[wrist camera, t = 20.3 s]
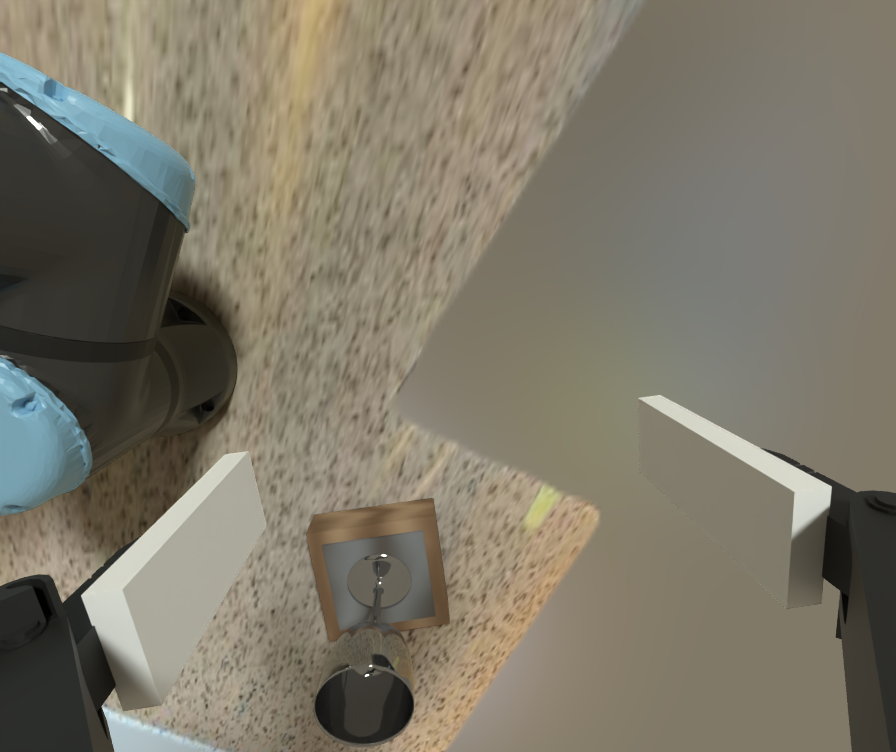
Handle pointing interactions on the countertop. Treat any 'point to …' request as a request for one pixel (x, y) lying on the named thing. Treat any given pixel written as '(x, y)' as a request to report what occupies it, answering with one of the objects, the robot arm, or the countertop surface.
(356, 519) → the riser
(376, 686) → the wine glass
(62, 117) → the robot arm
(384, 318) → the countertop surface
